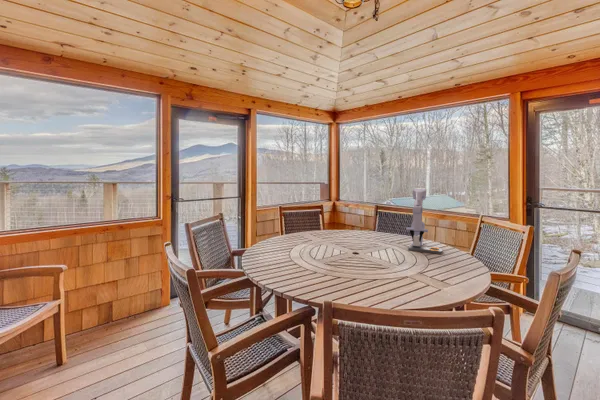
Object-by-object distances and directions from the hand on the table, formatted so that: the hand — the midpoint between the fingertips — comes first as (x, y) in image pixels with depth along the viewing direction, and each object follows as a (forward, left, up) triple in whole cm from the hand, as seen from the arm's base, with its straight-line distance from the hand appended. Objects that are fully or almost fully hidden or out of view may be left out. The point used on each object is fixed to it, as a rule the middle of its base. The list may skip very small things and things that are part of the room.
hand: (416, 241), depth 219 cm
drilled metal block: (0, 0, -3) cm, 3 cm away
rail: (0, +6, -7) cm, 9 cm away
